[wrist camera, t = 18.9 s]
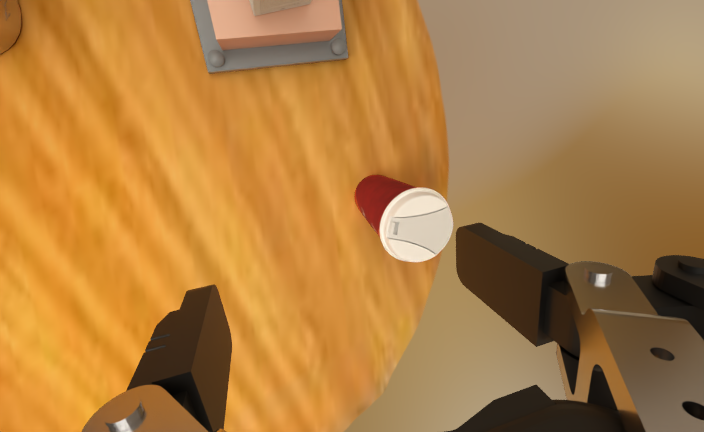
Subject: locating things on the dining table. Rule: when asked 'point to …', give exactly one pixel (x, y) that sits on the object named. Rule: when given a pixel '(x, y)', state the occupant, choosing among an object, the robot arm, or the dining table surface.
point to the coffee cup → (405, 217)
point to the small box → (275, 5)
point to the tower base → (262, 53)
